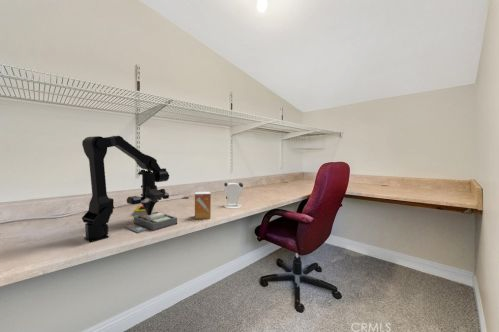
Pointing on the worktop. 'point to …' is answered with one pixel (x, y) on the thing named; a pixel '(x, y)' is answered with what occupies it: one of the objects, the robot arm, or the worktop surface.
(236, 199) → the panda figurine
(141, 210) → the emergency button
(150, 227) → the keypad housing
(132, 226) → the card
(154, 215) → the offwhite key
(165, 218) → the sage key
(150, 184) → the robot arm
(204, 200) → the small box
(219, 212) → the worktop surface
